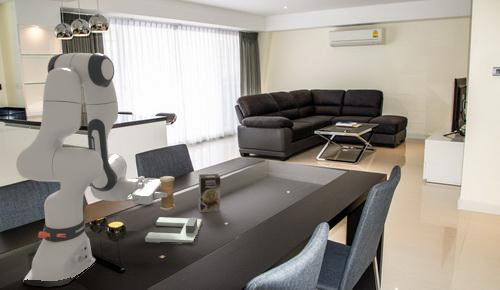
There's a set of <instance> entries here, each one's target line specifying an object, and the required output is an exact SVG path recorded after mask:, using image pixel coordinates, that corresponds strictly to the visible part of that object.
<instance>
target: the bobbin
mask: <svg viewBox="0 0 500 290" xmlns="http://www.w3.org/2000/svg"><path fill="white" fill-rule="evenodd" d="M159 179H160V182H161V191H160V192H168V196H167V197H162V198H160V200H161V201H160V206H159V207H160V208H159V209H160V210H161V211H172V210H174V209H175V208H176V207H175V206H176V205H175V204H174V181H175V177H174V176H170V175H169V176H168V175H165V176H161V177H159Z"/></svg>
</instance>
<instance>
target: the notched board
mask: <svg viewBox="0 0 500 290" xmlns="http://www.w3.org/2000/svg"><path fill="white" fill-rule="evenodd" d="M202 222H203V219H202V218H198V217H188V218H185V217H158V219H156V222H155V225H156V226H163V227H180V228H181V227H182V229H181V231H180V233H172V232H169V233H168V232H148V233H147V235H146V236H145V238H144V240H145V242H146V243H160V242H193V241H194V239H195V240H196V238H197V236H196V235H198V233H199V231H198V230H200V228H201V226H202ZM195 237H196V238H195ZM194 242H195V241H194Z"/></svg>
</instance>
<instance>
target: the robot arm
mask: <svg viewBox="0 0 500 290" xmlns="http://www.w3.org/2000/svg"><path fill="white" fill-rule="evenodd" d="M114 75H115V66H114V63H113V61H112V60H111V59H110V57H109V56H108V55H106V54H104V53H103V54H102V53H98V52H96V53H95V52H94V53H91V52H90V53H88V52H87V53H85V52H69V53H60V54H55V55H54V56H52V57H51V58H50V59H49V62H48V64H47V75H46V79H45V84H44V89H43V96H42V114H41V115H42V116H41V124H40V128H39V131H38V132H37V135H36V137H35V138H34V140H33V141H32V142H31V144H29V145H28V146H27V147H26V148H24V149H22V151H20V153H19V154H18V156H17V158H16V163H15V165H16V170H17V172H18V174H19V176H20V177H21V178H23V179H25V180H26V179H27V180H30V181H36V182H52V183H53V182H55V183H59V184H60V187H59V188H60V189H59V190H57V191H55V192H53V193H51V194H49V195H48V197H46V199H45V200H44V204H43V208H44V220H45V221H44V222H45V223H44V227H43V230H42V231H39V232H38V234H37V235H38V236H37V237H38V238H39V239H42V240H41V242H40V244H39V247H38V248H37V251H36V253H35V255H34V256H33V259H32V262H31V269H30V270H29V271H28V273H27V274H26V276H25V277H24V279H23V281H24V280H27V279H28V280H41V281H58V280H63V279H67V278H70V277H71V278H73V277H75V276H76V275H78V274H80V273H81V272H83V271H84V270H85V269H87V268H88V267H90V266H91V265H92V264H93V263H94V262H95V261H96V258H95V257H94V256H93V254H92V249H91V243H90V242H91V241H90V240H91V239H90V238H89V237H88V235H87V233H86V232H85V231H86V222H85V218H84V213H83V212H84V211H83V209H84V208H83V205H84V202H83V201H84V195H85V193H86V190H87V188H88V187H89V186H90V192H91V194H92V196H93V197H94V198H96V199H98V200H103V201H109V202H117V201H123V202H130V203H131V202H132V203H133V204H138V205H151V204H152V203H153V202H154V201H155V199H161V198H162V197H167V196H168V192H161V182H160V178H155V177H146V178H145V176H138V177H136V178H126V175H127V166H128V165H127V162H126V160H125V158H123V156H121V155H119V154H117V153H116V154H115V153H111V154H109V146H108V139H109V138H108V137H109V135H110V132H111V130H112V128H113V126H114V125H115V123H116V122H117V121H118V116H119V104H118V98H117V97H118V96H117V92H116V89H115V84H114V82H113V78H114ZM82 88H83V96H84V104H85V109H86V110H85V111H86V119H87V143H88V148H85V147H73V146H72V147H69V146H68V147H65V146H63V144H64V142H65V140H66V139H67V138H68V137H70V136H72V135H74V134H76V133H77V132H78V131H79V130H80V128H81V127H82V107H83V106H82V105H83V103H82V102H83V99H82V98H83V96H82ZM96 262H97V261H96ZM93 265H94V264H93ZM93 265H92V266H93ZM92 266H91V267H92ZM91 267H90V268H91ZM88 269H89V268H88ZM88 269H87V270H88ZM83 273H84V272H83Z"/></svg>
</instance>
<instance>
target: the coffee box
mask: <svg viewBox="0 0 500 290" xmlns="http://www.w3.org/2000/svg"><path fill="white" fill-rule="evenodd" d="M197 202H198V205H197V206H198V211H199V213H212V212H220V211H221V209H220V208H221V206H220V205H221V176H220V174H219V173H209V174H208V173H207V174H206V173H205V174H204V173H203V174H202V173H201V174H198V201H197Z"/></svg>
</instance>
